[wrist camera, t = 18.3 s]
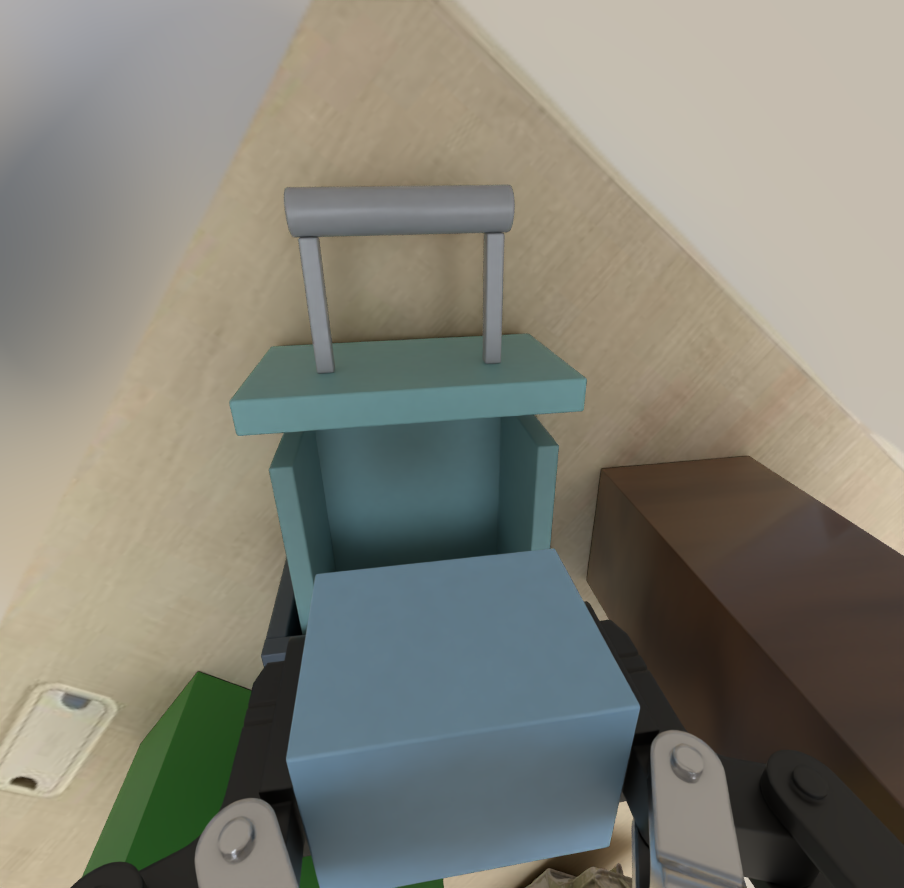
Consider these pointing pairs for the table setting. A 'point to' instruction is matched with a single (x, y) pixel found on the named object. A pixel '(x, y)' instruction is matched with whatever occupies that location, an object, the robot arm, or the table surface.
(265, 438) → the table surface
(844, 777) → the wooden stand
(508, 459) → the drawer
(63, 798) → the table surface
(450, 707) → the blue rectangular block
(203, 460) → the table surface
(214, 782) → the hardback book
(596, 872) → the decorative box
